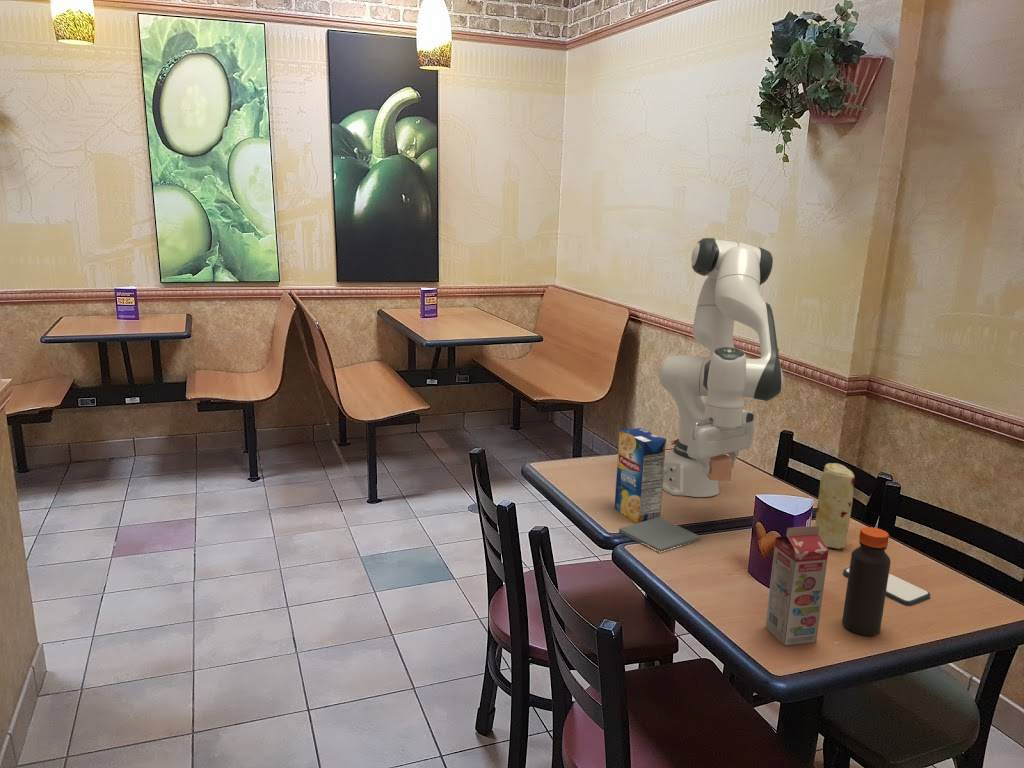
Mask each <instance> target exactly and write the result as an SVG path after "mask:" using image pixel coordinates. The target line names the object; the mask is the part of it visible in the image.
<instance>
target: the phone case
mask: <svg viewBox="0 0 1024 768" xmlns="http://www.w3.org/2000/svg"><path fill="white" fill-rule="evenodd" d="M849 569H850V566H849V567H847V568H844V569H843V571H842V572H843V573H842V575H843V576H844V577H845V578H847V579H848V576H849ZM885 598H889V599H890V600H893V601H894V602H897V603H898V604H900V605H903V606H907V607H912V606H915V605H917V604H920V603H922V602H924V601H927V600H929V599H931V593H930V592H929V591H927V590H925V589H924V588H922V587H919V586H917V585H915V584H913V583H911V582H909V581H907V580H904V579H902V578H900V577H898V576H896V575H894V574H891V573H890V572H889V576H888V583H887V589H886V596H885ZM919 602H920V603H919Z"/></svg>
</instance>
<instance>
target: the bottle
mask: <svg viewBox="0 0 1024 768" xmlns="http://www.w3.org/2000/svg"><path fill="white" fill-rule="evenodd" d="M889 537H890V534H889V532H887V531H886V530H883V529H882V528H878V527H871V526H864V527H862V528H860V531H859V539H858V543H859V546H858V547H857V548H855V549H854V550H852V552H851V556H850V557H851V558H850V562H849V567H850V569H849V576H848V578H847V585H846V592H845V599H844V605H843V613H842V618H841V619H842V622H841V623H842V625H843V627H844V628H846V629H847V630H848V631H850V632H852V633H854V634H856V635H861V636H866V637H867V636H870V637H871V636H875V635H878V634H879V633H880V631H881V627H882V621H883V614H884V607H885V601H886V589H887V583H888V576H889V573H890V570H891V562H892V561H891V557H890V556H889V555H888V554H887V552H886V550H887V548H888V544H889Z"/></svg>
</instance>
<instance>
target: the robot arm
mask: <svg viewBox="0 0 1024 768" xmlns="http://www.w3.org/2000/svg"><path fill="white" fill-rule="evenodd" d="M690 262H691V268H692V270H693V271H694V273H695V274H698V275H701V276H703V277H706V276H707V277H706V278H705V280H704V281H703V284H702V287H701V290H700V292H699V295H698V299H697V305H696V307H695V313H694V317H693V318H694V319H693V324H692V331H691V334H692V336H693V338H694V340H695V341H697V343H699V345H701V346H703V347H704V348H706V349H708V351H709V355H708V356H698V355H697V356H696V355H691V354H690V355H689V354H675V355H668V356H666V357H665V358H664V359H663V360H661V361H662V362H661V363H660V365H659V368H658V372H657V374H658V380H659V383H660V385H661V386H662V387H663V388H664V389H665V390H666V391H667V392H668V394H669V395H670V396H671V397H672V399H673V401H674V403H675V406H676V407H677V410H678V414H679V428H678V429H679V433H678V438H677V439H675V440H671V441H670V442H671V443H670V445H671V446H672V445H674V447H673V449H672V450H671V451H669V452H667V453H665V460H664V472H663V485H662V490H663V489H664V490H663V491H665V492H666V493H668V492H669V493H668V494H670V495H672V496H686V497H687V496H688V497H693V498H709V497H712V496H713V497H714V496H716V495H718V494H719V493H720V486H719V481H717V480H709V478H708V477H707V476H706V475H707V474H711V472H712V471H711V470H712V467H710V466H709V463H708V462H709V461H710V457H714V456H719V455H723V454H725V455H728V457H729V458H730V459H731V460H732V461H733V462H732V469H734V467H735V461H736V460H737V458H738V456H739V453H740V451H743V450H746V449H749V448H750V449H751V446H752V445H753V440H754V434H755V424H754V422H755V421H756V417H757V414H756V413H755V412H753V411H750V410H746V409H744V405H745V403H744V398H749V399H755V400H759V401H764V402H768V401H770V400H772V399H775V398H777V396H778V395H780V394H781V393H782V389H783V387H784V386H783V385H784V374H783V370H782V367H781V361H780V356H779V350H778V341H777V333H776V324H775V318H774V314H773V309H772V306H771V304H769V303H768V302H767V301H765V300H764V299H763V297H762V295H761V291H760V288H761V287H760V286H761V285H763V284H764V283H766V282H767V280H768V279H769V277H770V275H771V274H772V272H773V271H772V270H773V267H774V266H773V265H774V263H773V262H774V258H773V254H772V253H771V251H769V250H767V249H765V248H763V247H760V246H759V247H756V246H753V245H751V244H748V243H744V242H741V241H736V242H735V241H732V240H731V241H730V240H725V239H715V237H705V238H701V239H700V240H699V241H698V242H697V243H696V244H695V246H694V248H693V250H692V251H691V261H690ZM735 322H738V323H741V324H743V325H745V326H747V327H749V328H750V329H752V330H754V331H755V332H756V333H757V336H758V342H759V349H760V350H759V351H760V358H748V357H746V356H747V355H746V353H745V351H743V350H742V349H740V348H738V347H737V348H736V347H735V346H734V345H735V344H734V326H735ZM702 397H706V398H705V403H704V401H703V400H702Z"/></svg>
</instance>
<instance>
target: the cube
mask: <svg viewBox="0 0 1024 768" xmlns="http://www.w3.org/2000/svg"><path fill="white" fill-rule="evenodd" d="M728 456H729V454H723V455H719V456H714V457H710V461H709V462H708V463H709V466H710V467H712V470H711V471H712V472H711V474H707V475H706V476H707V477H708V478H709V480H717V481H718V482H719V481H723V482H725V481H726V482H731V479H732V470H733V468H732V462H733V461H732V460H731V459H730V458H729V457H728Z"/></svg>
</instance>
